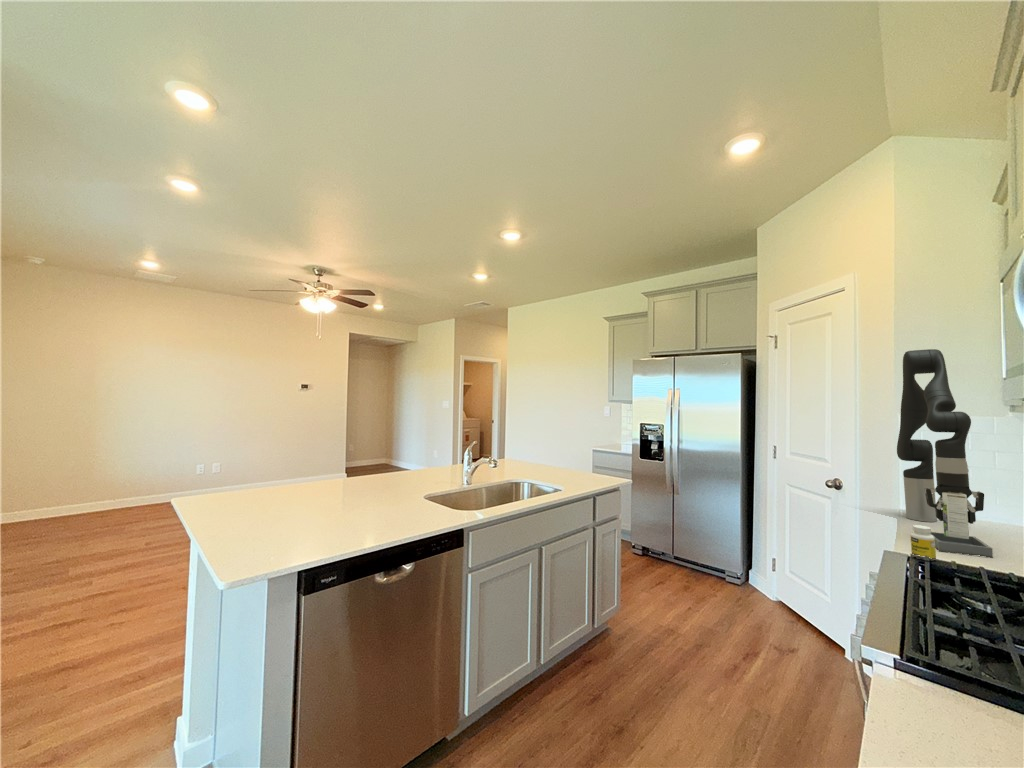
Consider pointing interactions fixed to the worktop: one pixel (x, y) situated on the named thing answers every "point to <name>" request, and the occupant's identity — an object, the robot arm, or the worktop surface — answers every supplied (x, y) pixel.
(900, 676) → the worktop surface
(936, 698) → the worktop surface
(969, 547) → the tray
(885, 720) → the worktop surface
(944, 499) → the syrup box
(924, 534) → the supplement bottle
